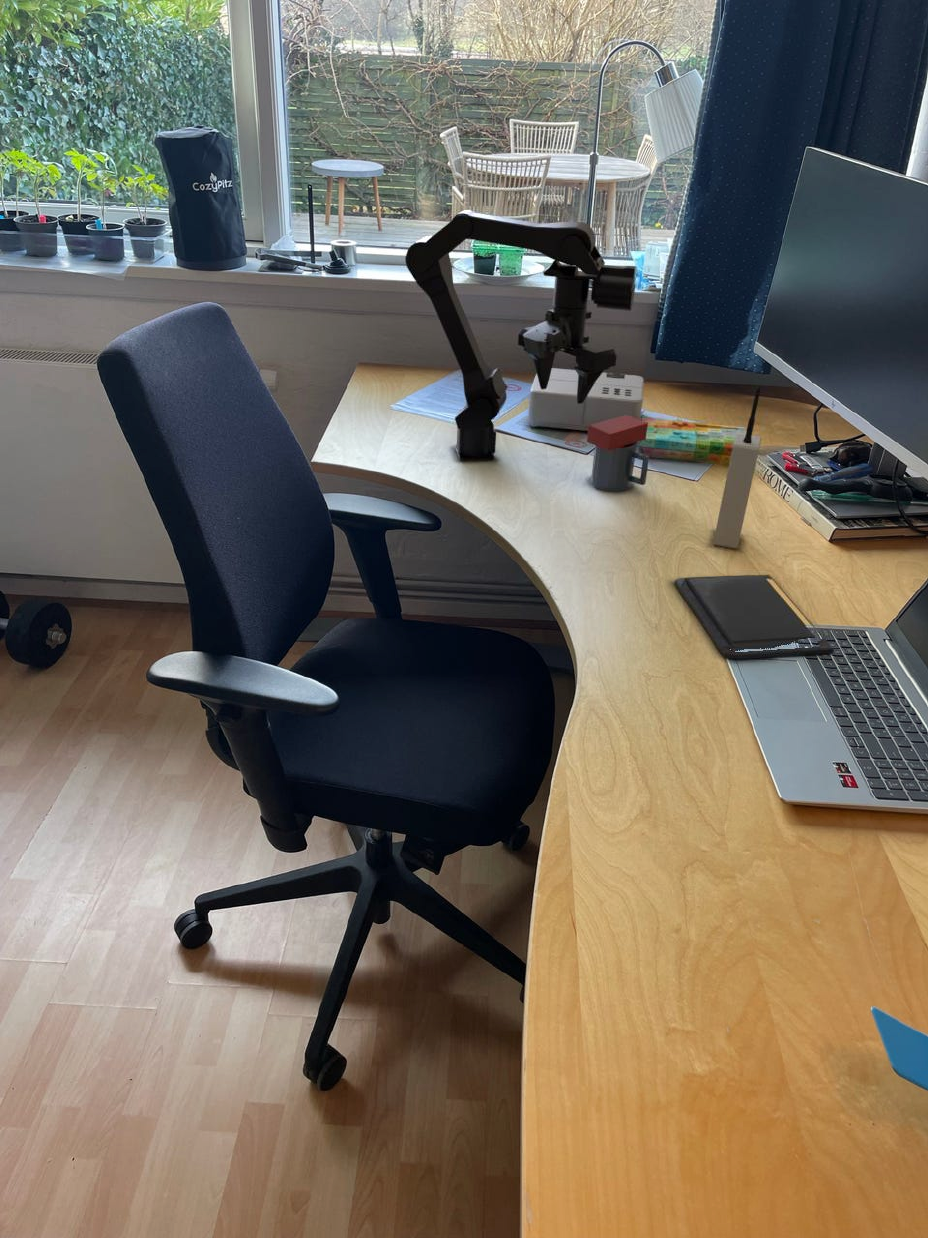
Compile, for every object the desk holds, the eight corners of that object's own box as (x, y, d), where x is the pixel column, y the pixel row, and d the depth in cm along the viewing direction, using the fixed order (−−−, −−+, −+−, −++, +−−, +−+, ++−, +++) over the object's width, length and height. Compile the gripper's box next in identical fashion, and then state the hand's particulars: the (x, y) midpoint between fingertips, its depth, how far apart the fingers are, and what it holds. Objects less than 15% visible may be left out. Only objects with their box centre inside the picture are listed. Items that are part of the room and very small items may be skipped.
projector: (637, 438, 181) (642, 400, 177) (526, 428, 184) (529, 389, 180) (638, 410, 195) (644, 374, 191) (536, 401, 198) (538, 365, 194)
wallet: (674, 570, 133) (775, 567, 134) (672, 581, 134) (772, 578, 135) (723, 648, 116) (837, 643, 118) (720, 660, 117) (834, 656, 119)
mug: (583, 484, 162) (588, 441, 158) (603, 472, 167) (608, 430, 162) (634, 500, 157) (640, 456, 153) (652, 487, 162) (659, 444, 158)
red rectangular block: (607, 451, 154) (610, 434, 152) (586, 441, 157) (588, 425, 156) (645, 439, 159) (648, 422, 158) (624, 430, 163) (626, 414, 161)
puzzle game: (642, 413, 180) (746, 423, 178) (639, 436, 183) (742, 446, 180) (642, 434, 170) (752, 445, 168) (638, 458, 173) (747, 469, 170)
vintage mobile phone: (739, 536, 147) (773, 382, 133) (737, 549, 143) (771, 392, 129) (716, 532, 148) (747, 378, 134) (712, 545, 144) (744, 389, 130)
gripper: (496, 299, 155) (492, 389, 164) (575, 324, 143) (566, 420, 151) (544, 291, 161) (538, 378, 170) (624, 314, 149) (612, 407, 158)
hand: (561, 395), depth 162 cm, fingers open, 9 cm apart
